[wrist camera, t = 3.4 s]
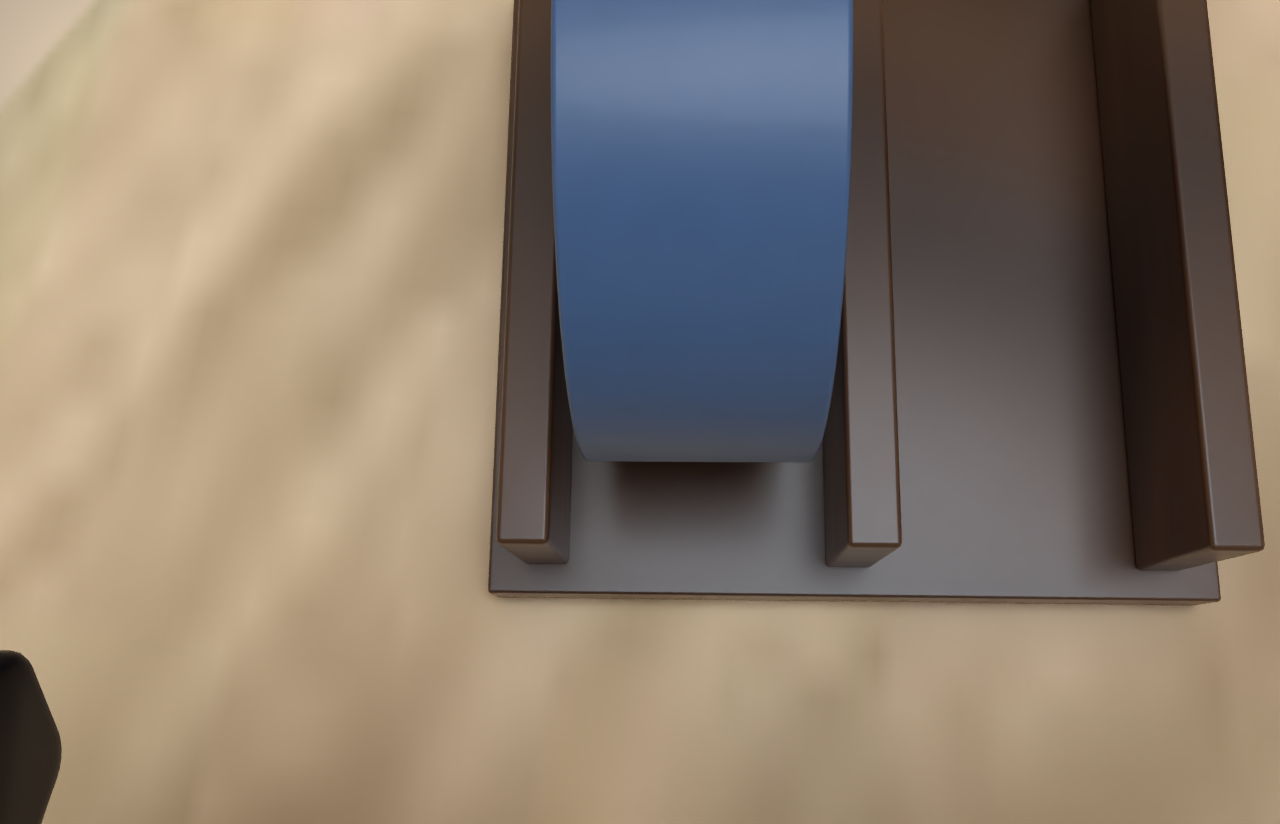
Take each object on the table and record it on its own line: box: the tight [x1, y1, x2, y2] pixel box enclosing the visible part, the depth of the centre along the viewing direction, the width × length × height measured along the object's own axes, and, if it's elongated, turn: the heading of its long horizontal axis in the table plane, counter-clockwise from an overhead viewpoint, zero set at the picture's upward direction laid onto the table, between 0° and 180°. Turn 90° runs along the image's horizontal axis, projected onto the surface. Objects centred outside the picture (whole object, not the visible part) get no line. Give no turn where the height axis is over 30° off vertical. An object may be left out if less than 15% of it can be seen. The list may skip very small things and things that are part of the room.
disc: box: [551, 0, 853, 463], centre depth 17 cm, size 9×3×9 cm, turn 179°
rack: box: [488, 0, 1265, 605], centre depth 20 cm, size 12×12×4 cm
